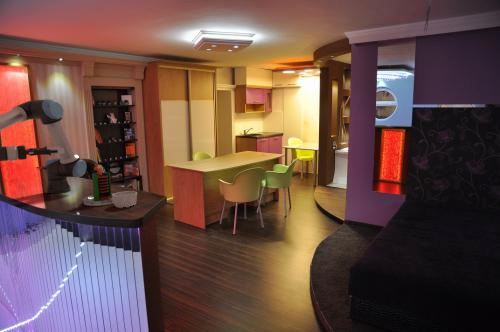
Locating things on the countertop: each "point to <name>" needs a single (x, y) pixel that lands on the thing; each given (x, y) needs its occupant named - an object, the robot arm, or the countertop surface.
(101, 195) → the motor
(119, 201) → the ramekin
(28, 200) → the countertop surface
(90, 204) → the tray
